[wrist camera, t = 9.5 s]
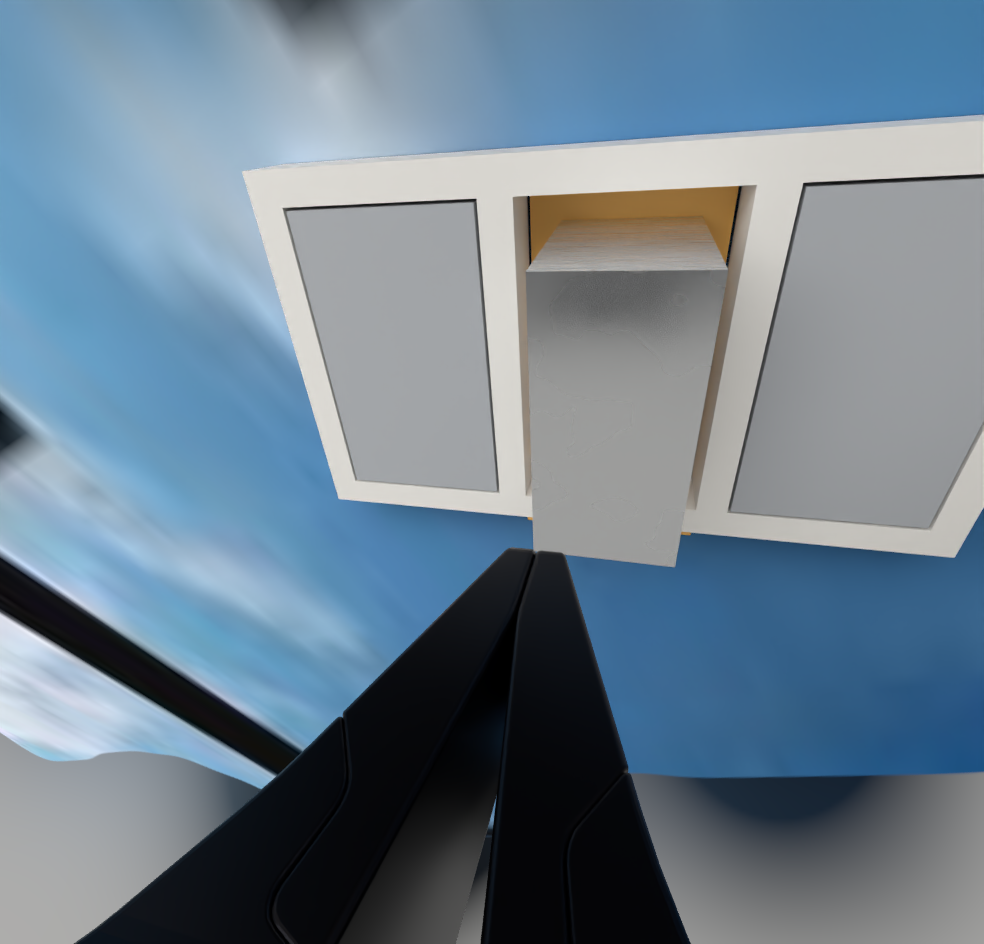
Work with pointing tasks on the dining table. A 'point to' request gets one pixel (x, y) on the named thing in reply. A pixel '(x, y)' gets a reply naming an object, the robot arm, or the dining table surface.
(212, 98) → the dining table surface
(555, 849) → the robot arm
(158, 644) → the dining table surface
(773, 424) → the rack
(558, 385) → the grey block
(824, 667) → the dining table surface
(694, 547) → the dining table surface
